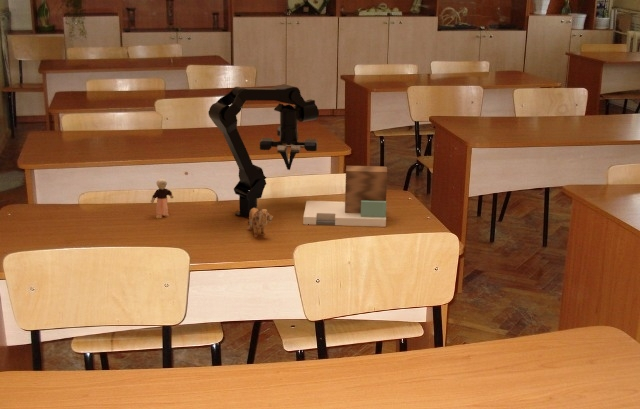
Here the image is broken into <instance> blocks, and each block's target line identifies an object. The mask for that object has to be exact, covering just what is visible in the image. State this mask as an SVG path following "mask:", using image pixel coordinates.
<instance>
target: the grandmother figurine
mask: <svg viewBox="0 0 640 409" xmlns="http://www.w3.org/2000/svg"><path fill="white" fill-rule="evenodd" d="M167 184H168V182H167V180H166V179H164V178H159V179H157V180H156V186H157V187H158V189H156V190H155V192H154V193H153V195H152V196H151V200H150V203H151V204H154V203H155V200H156V208H155V209H156V211H155V214H156V215H155V218H156V219H162V218H163V217H164V218H167V217H170V214H169V211H168V210H169V209H168V196H169V198H170V199H174V195H173V193H172V191H171V190H170V189H168V188H166V187H167Z"/></svg>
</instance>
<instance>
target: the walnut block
mask: <svg viewBox="0 0 640 409" xmlns="http://www.w3.org/2000/svg"><path fill="white" fill-rule="evenodd" d="M387 184H388V167H387V166H375V165H374V166H373V165H372V166H371V165H369V166H368V165H345V185H344V186H345V187H344V188H345V192H344V194H345V195H344V202H345V213H361V200H363V201H387V190H388V189H387V188H388V185H387Z"/></svg>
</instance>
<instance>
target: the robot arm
mask: <svg viewBox="0 0 640 409" xmlns="http://www.w3.org/2000/svg"><path fill="white" fill-rule="evenodd" d="M246 101H247V102H249V101H252V102H253V101H256V102H257V101H259V102H260V101H266V102H267V101H274V102H279V103H278V104H277V106H275V107H274V108H273V110H274V111H275V112H279V126H277V131H276V132H277V133H276V135H277V136H278V137H279V140H274V137H262V138H261V140H260V141H259V150H260V151H269V150H271V149H272V148H274V147H275V148H277V150H276V152H277V153H278V154H280V156H281V157H282V160H283V161H284V164H285V167H286V170H288V171H290V170H291V168H292V165H293V164H292V163H293V161H294V159H295V157H296V155H297V154H299V153H301V148H303V149H304V150H305V151H306V152H317V151H318V140H317V139H315V138H305V139H304V140H305V141H299V131H298V122H300V123H303V122H308V121H315V120H317V119H318V118H319V114H320V111H319V108H318V105H316V100H315V99H307V100H305V99H304V98H303V96H302V95H301V90H300V89H299V87H297V86H293V85H289V84H286V83H283V84H278V85H277V84H276V85H274V86H272V87H242V86H235V87H232V89H231V90H230V91H229V92H228V93H226V94H225V95H223V96H222V97H220V98H219V99H217V101H216V102H215V103H212V104H211V105H210V107H209V110H208V116H209V118H210V120H211V121H212V122H213V124H214V125H215V126H216V127H217V128H218V130H220V131H221V133H222V134H223V136H224V139H225V141H226V143H227V145H228V148H229V150H230V153H231V154H232V157H233V158H234V161H235V163H236V165H237V167H238V178H239V181H238V182H237V184H236V185H235V186H234V187H233V191H234V194H235V195H238V196H239V197H238V199H239V201H238V202H239V204H238V206H239V211H238V212H235V216H239V217H244V218H249V213H250V210H251V209H252V208H257V209H258V200H259V199H262V197H263V194H264V189H265V187H266V185H267V181H266V179H267V176H266V175H265V174H264V169H263V168H262V167H260V166H258V165H255V164H254V163H253V161H252V159H251V156H250V155H249V153H248V150H247V148H246V146H245V143H244V142H243V141H244V140H243V138H242V136H241V134H240V131H239V130H238V118H237V115H238V114H239V113H240V112H241V111H242V108H243V106H244V104H245V103H246ZM283 103H284V104H283ZM288 148H290V152H288V150H289V149H288ZM288 153H290V154H288Z"/></svg>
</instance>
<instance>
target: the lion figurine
mask: <svg viewBox="0 0 640 409" xmlns="http://www.w3.org/2000/svg"><path fill="white" fill-rule="evenodd" d="M273 218H274V216H273V215H272V214H270V213H269V212H268V209H266V208H262V209H258V207H257V208H252V209H251V210H250V213H249V217H248V219H249V220H248V221H247V224H248V228H247V229H248V230H247V231H251V230H253V237H255V238H257V237H258V236H259V233H258V229H260V234H261V236H265V235H266V232H265V227H266V226H267V225H268V222H269V223H272V220H273ZM252 225H253V226H252ZM252 227H253V228H252Z"/></svg>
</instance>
